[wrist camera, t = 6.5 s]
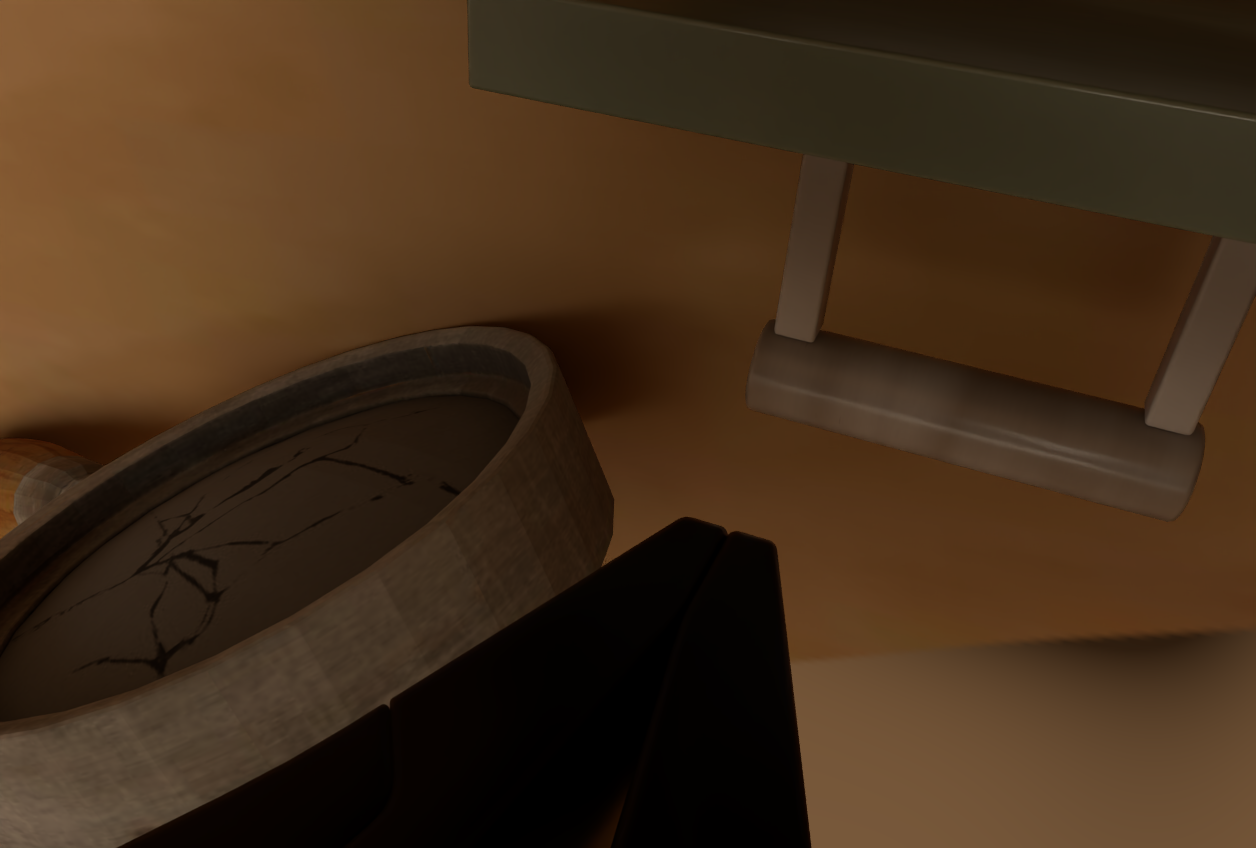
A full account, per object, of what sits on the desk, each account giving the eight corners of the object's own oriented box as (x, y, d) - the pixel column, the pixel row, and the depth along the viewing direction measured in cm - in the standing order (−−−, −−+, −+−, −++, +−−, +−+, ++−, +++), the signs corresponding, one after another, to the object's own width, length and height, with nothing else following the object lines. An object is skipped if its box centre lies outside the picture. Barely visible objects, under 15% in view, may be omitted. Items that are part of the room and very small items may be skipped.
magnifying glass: (-214, 656, 30) (173, 1037, 13) (-289, 570, 29) (30, 864, 12) (179, 415, 38) (743, 453, 21) (133, 339, 37) (694, 313, 20)
